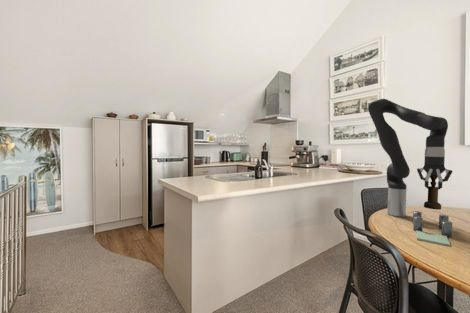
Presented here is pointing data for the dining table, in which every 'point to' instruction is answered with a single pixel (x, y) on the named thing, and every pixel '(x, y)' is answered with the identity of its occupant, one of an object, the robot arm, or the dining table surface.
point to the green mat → (432, 238)
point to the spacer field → (443, 223)
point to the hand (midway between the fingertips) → (433, 188)
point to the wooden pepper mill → (432, 195)
